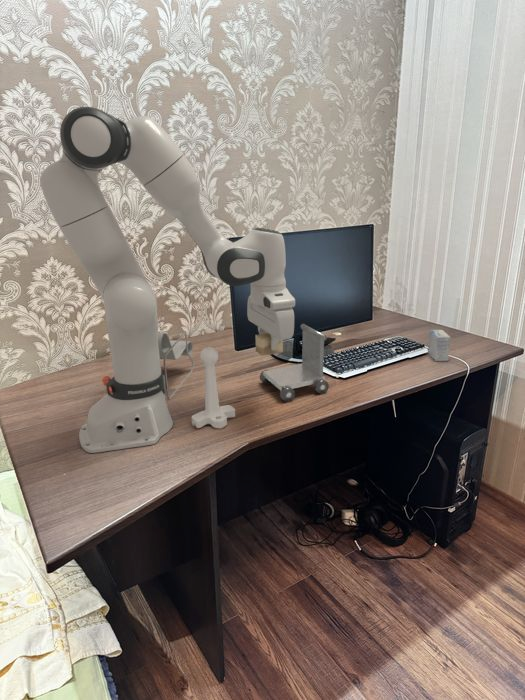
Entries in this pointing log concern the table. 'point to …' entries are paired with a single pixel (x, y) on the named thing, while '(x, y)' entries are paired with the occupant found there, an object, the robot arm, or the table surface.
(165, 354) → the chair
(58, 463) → the table surface
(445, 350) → the medicine box
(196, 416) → the joystick
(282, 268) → the robot arm
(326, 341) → the microphone
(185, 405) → the table surface
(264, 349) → the chock
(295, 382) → the cart
